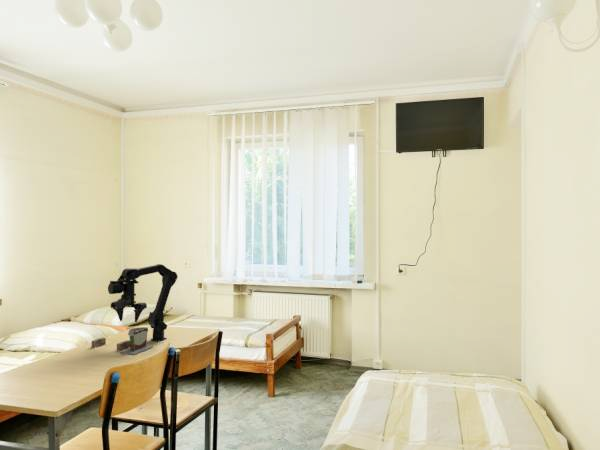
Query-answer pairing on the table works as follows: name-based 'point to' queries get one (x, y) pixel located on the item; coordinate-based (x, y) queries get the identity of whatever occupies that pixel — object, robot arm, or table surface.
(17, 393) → the table surface
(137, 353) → the mat
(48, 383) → the table surface
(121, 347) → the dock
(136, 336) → the food container
